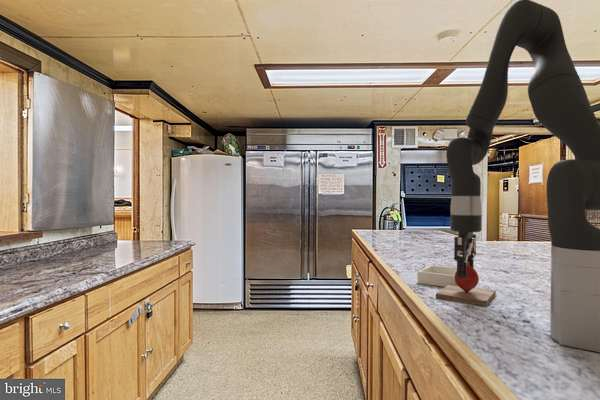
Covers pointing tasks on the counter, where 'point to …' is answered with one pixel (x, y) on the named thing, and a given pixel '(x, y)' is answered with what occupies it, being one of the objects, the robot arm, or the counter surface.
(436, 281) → the shallow wooden tray
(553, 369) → the counter surface
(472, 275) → the onion
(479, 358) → the counter surface
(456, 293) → the board
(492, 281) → the counter surface
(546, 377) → the counter surface
